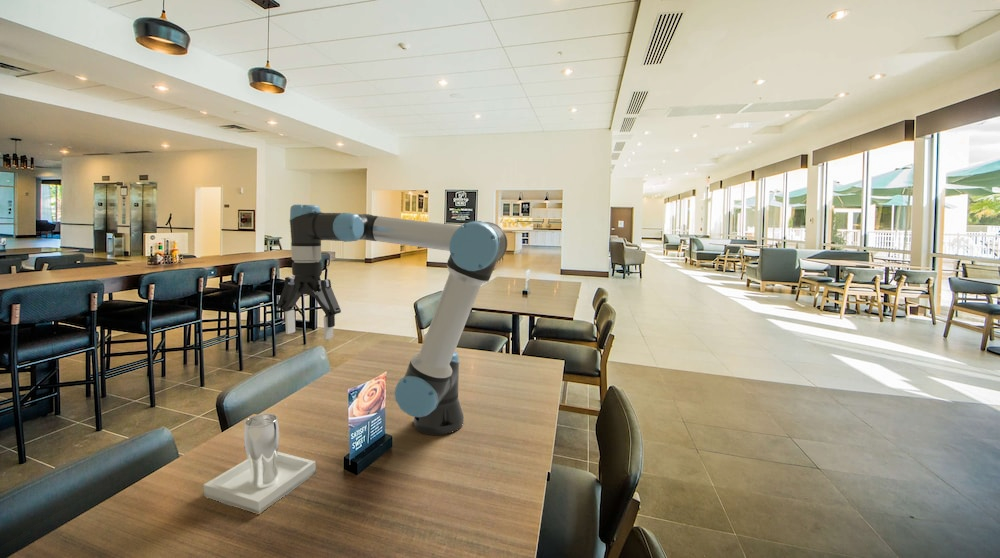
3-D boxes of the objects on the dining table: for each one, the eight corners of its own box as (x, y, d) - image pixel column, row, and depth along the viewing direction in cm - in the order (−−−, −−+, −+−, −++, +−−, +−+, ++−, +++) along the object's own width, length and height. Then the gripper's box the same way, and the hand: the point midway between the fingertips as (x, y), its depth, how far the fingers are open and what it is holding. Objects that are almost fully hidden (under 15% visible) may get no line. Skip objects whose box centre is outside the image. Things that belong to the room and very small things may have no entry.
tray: (316, 472, 102) (315, 461, 101) (259, 515, 87) (258, 502, 86) (266, 459, 107) (265, 448, 106) (204, 497, 92) (203, 484, 91)
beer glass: (265, 492, 92) (262, 429, 90) (239, 487, 94) (235, 424, 92) (287, 474, 99) (285, 414, 97) (262, 470, 100) (259, 411, 98)
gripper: (353, 262, 115) (354, 337, 117) (282, 257, 123) (285, 327, 125) (334, 264, 108) (336, 344, 110) (261, 259, 116) (264, 333, 118)
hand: (309, 335), depth 118 cm, fingers open, 13 cm apart
